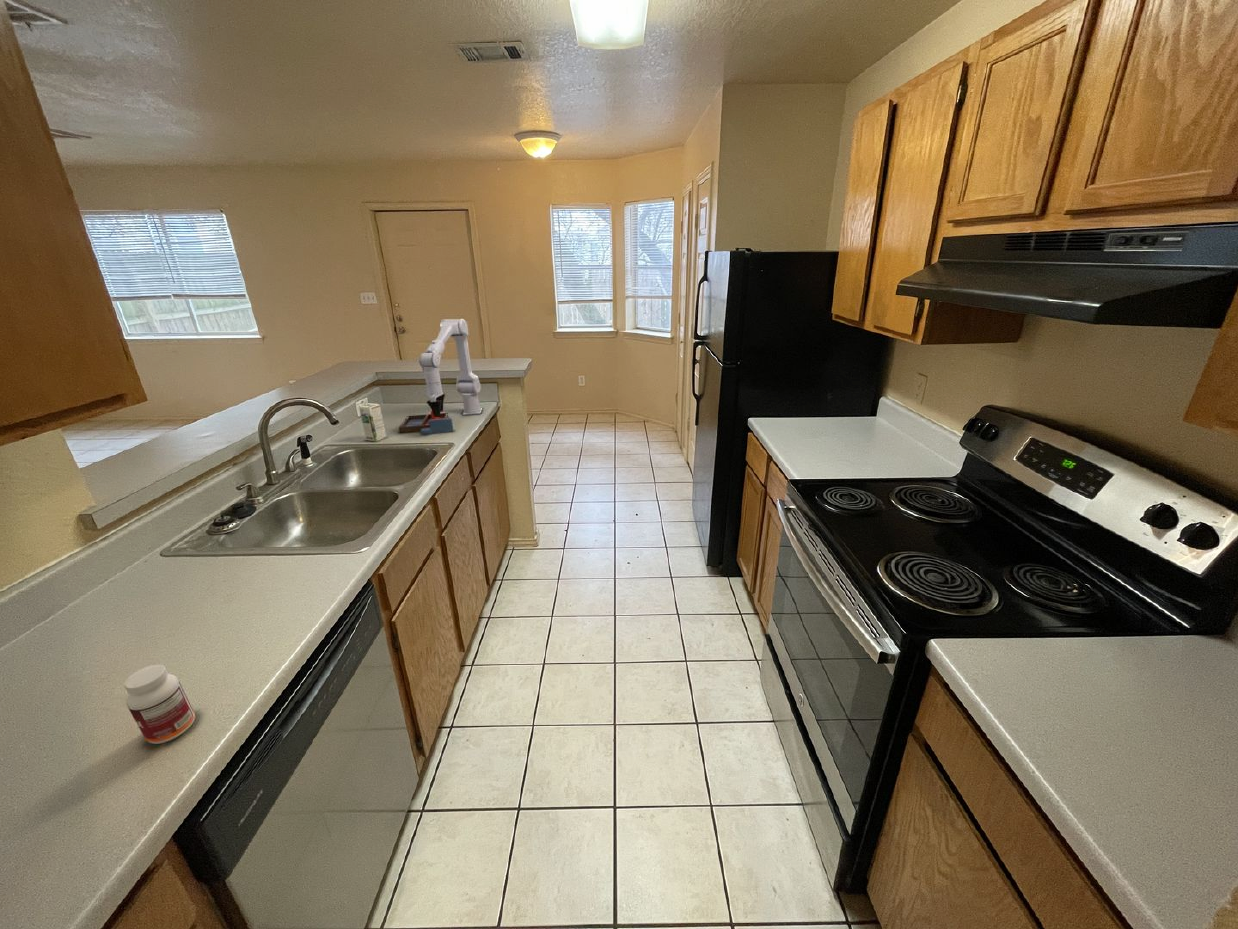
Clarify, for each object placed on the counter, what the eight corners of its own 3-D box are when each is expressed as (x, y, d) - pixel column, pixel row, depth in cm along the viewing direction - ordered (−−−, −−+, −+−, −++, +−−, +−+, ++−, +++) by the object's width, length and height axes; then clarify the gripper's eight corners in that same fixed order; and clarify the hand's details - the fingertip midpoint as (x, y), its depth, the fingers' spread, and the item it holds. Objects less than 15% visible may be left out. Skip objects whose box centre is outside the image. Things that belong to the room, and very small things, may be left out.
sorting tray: (408, 421, 231) (407, 415, 230) (448, 417, 233) (447, 412, 232) (399, 432, 215) (398, 427, 214) (443, 429, 218) (442, 423, 217)
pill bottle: (149, 724, 81) (121, 672, 77) (197, 705, 84) (173, 654, 80) (143, 753, 76) (113, 699, 72) (194, 732, 79) (168, 679, 75)
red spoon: (432, 418, 231) (430, 406, 229) (442, 417, 232) (440, 405, 230) (427, 426, 219) (425, 414, 217) (438, 426, 220) (436, 413, 218)
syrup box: (365, 440, 207) (357, 406, 202) (376, 435, 212) (369, 402, 207) (376, 441, 205) (368, 407, 200) (387, 437, 210) (379, 403, 205)
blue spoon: (453, 429, 217) (451, 417, 215) (452, 432, 213) (450, 420, 211) (422, 432, 215) (420, 419, 213) (420, 435, 211) (418, 422, 209)
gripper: (426, 379, 213) (431, 410, 218) (419, 387, 200) (425, 419, 205) (443, 378, 214) (448, 408, 219) (438, 385, 201) (443, 418, 206)
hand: (438, 414), depth 212 cm, fingers open, 7 cm apart
